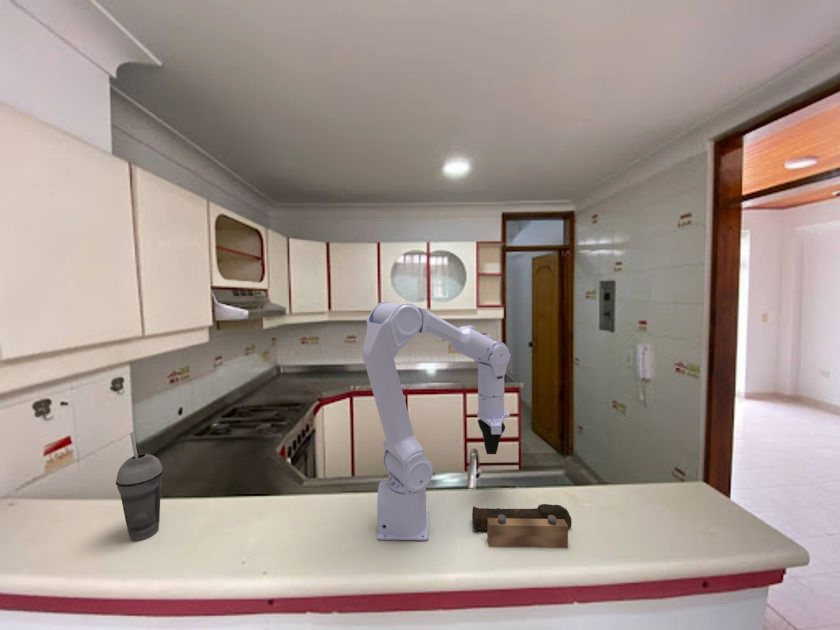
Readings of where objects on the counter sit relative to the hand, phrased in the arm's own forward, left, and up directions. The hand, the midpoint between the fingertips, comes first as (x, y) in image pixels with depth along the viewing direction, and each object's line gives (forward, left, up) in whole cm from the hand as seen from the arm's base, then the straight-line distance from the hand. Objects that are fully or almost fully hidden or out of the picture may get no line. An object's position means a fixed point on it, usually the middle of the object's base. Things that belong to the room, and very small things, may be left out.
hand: (491, 452), depth 81 cm
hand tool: (+4, -11, -10) cm, 15 cm away
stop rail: (+4, -16, -9) cm, 19 cm away
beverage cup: (-69, -15, -10) cm, 71 cm away
